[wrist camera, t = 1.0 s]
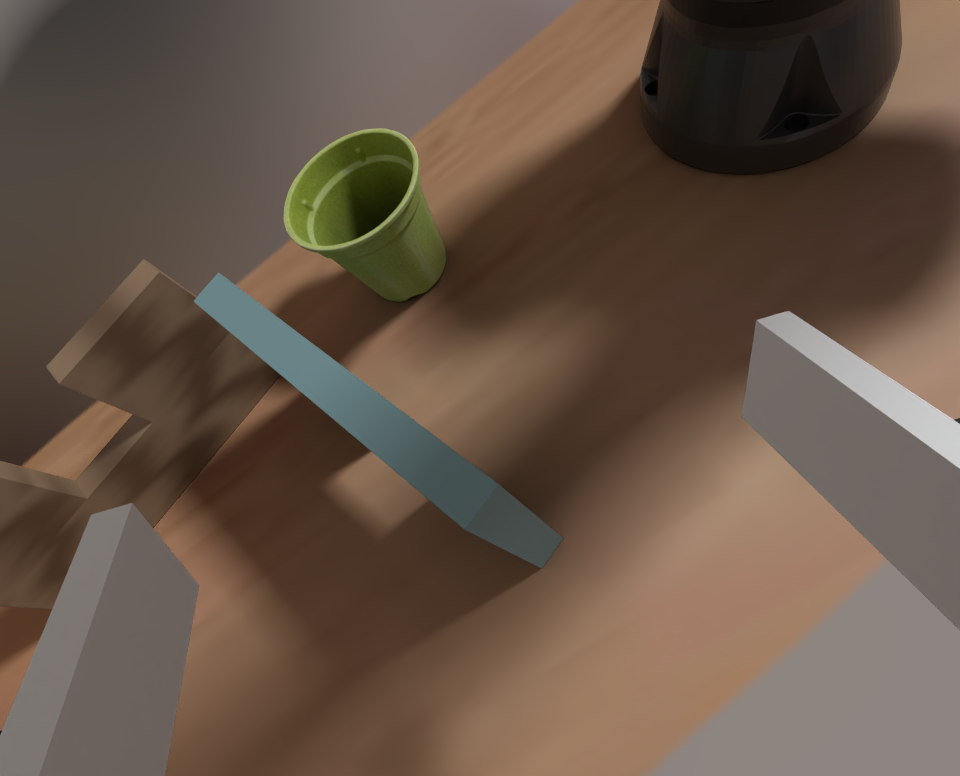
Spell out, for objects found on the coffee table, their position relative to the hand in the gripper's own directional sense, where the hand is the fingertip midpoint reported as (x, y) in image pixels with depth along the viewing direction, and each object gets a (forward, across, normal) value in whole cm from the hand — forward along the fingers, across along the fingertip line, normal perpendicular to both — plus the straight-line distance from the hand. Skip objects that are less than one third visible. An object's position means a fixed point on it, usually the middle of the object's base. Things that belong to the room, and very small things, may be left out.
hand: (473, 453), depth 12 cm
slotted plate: (+18, -2, -16) cm, 24 cm away
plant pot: (+31, +1, -9) cm, 32 cm away
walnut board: (+26, -19, -18) cm, 36 cm away
